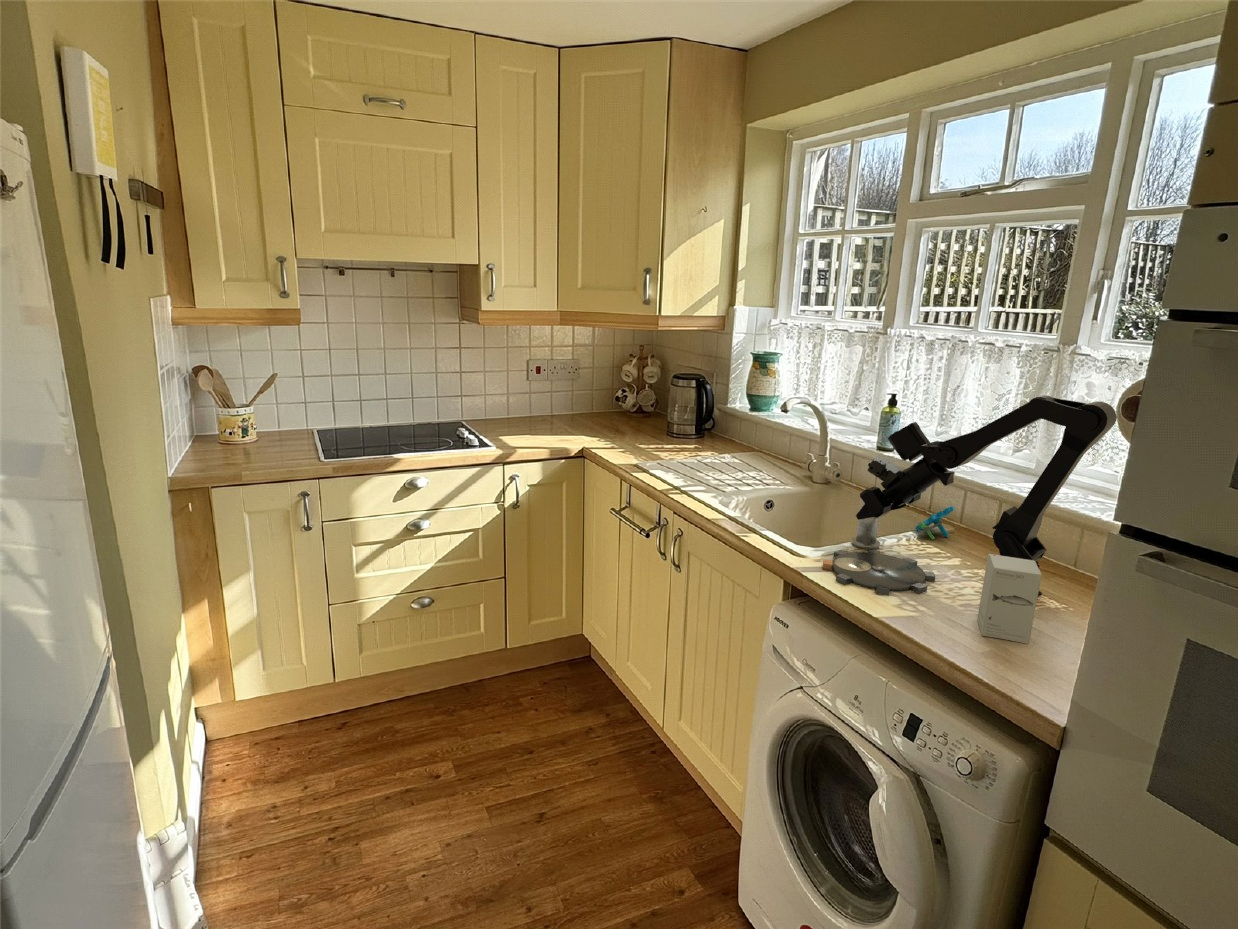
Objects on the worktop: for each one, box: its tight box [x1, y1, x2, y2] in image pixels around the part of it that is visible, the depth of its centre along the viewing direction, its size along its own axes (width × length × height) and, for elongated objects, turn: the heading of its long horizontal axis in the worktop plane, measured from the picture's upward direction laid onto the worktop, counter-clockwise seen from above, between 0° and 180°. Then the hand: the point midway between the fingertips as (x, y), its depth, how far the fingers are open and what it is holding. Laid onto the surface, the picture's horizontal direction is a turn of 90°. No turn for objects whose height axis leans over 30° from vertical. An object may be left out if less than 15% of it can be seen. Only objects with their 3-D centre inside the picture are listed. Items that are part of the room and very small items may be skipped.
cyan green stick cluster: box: [914, 505, 955, 541], centre depth 173 cm, size 11×6×10 cm
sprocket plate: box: [822, 549, 936, 596], centre depth 149 cm, size 22×22×1 cm
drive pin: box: [851, 498, 881, 551], centre depth 163 cm, size 6×6×12 cm
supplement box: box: [976, 553, 1043, 645], centre depth 123 cm, size 7×7×13 cm
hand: (863, 515), depth 164 cm, fingers open, 5 cm apart
